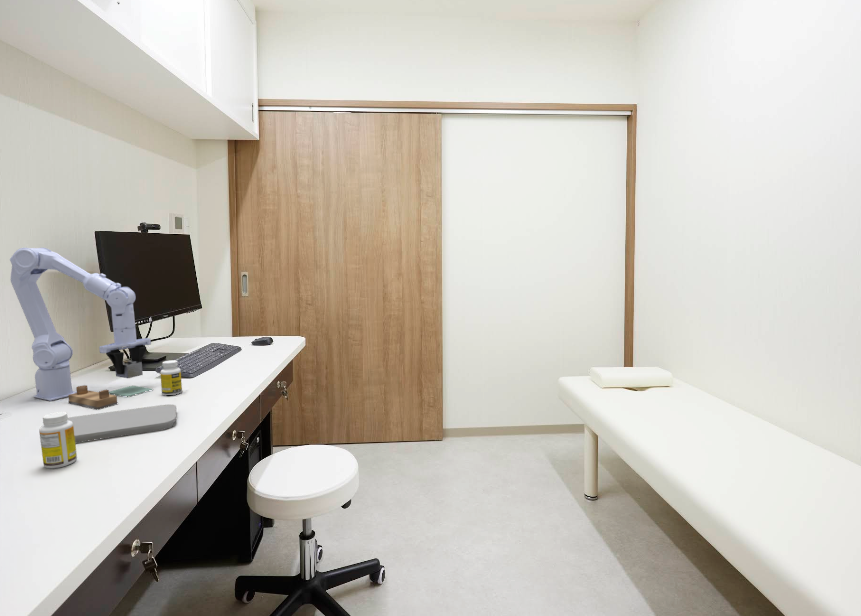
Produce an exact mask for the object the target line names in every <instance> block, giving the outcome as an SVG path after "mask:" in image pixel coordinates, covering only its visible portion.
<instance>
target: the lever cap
mask: <svg viewBox="0 0 861 616" xmlns="http://www.w3.org/2000/svg"><path fill="white" fill-rule="evenodd" d="M114 369H115V368H114ZM123 369H124V372H123V374H122V375H120V374H117V372H116V369H115V377H119V378H125V379H132V378H136V377H139V376H140V377H141V376H143V363H142V361H141V362H138V361H132V359H131V360H123Z"/></svg>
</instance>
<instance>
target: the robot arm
mask: <svg viewBox="0 0 861 616" xmlns="http://www.w3.org/2000/svg"><path fill="white" fill-rule="evenodd" d="M9 261H10V263H11V273H10V283H11V285H12V288H13V290H14V293H15V294H16V298H17V299H18V302H19V304H20V306H21V310H22V312H23V314H24V316H25V319H26V321H27V324H28V326H29V327H30V331H31V333H32V335H33V338H34V340H33V342H32V344H31V349H32V352H33V353H32V354H33V355H32V360H33V361H32V362H33V363H34V365H35V366H36V367H38V369H37V371H36V372H35V373H34V380H35V381H34V382H35V383H34V384H35V388H36V389H35V390H36V391H35V392H36V394H34V395H33V398H36V399H40V400H46V401H54V400H55V401H56V400H59V399H62V398H67V397H68V398H69V396H68V395H70V394H74V393H77V391H75V390H73V385H72V377H71V367H70V360H71V359H72V357H73V354H74V351H73V347H71V345H70V344H69V343H68V342H67V341H66V340H65V338H64V336H63V335H62V334H60V333H59V332H57V330H56V327H55V325H54V323H53V320H52V318H51V316H50V313H49V311H48V308H47V306H46V303H45V301H44V298H43V296H42V294H41V292H40V289H39V286H38V284H37V281H38V280H39V279H40V277H41V276H42V274H43V273H45V272H46V271H49V270H55V271H57V272H60V273H62V274H64V275H66V276H68V277H70V278H72V279H74V280H76V281H78V282H80V283H82V285H83V287H84V290H86V291H88V292H90V293H91V294H94V295H95V296H97V297H99V298H101V299H102V300H104V301H106V303H107V304H108V306H110V309H111V321H112V328H113V329H112V330H113V339H114V342H112V343H108V344H105V345H100V346H99V347H98V349H99V353H100V354H105V355H106V357H108V359H109V360H110V361H111V363H112V365H113V366H114V369H116V371H115V373H116V372H117V374H120V375H122V374H123V372H124V369H123V362H124V357H125V352H123V351H121V350H126V349H128V350H129V353H130V356H131V361H138V362H142V360H143V357H144V355H145V353H146V351H147V346H149V345H152V343H151V338H148V337H146V338H145V337H144V338H138V339H137V329H136V322H135V321H136V320H135V318H136V317H135V311H134V303H135V301H136V293H135V291H134V290H132V289H131V288H130V287H129V286H122V284H121V283H119V282H115V281H112V280H111V279H109V278H107V275H106V274H104V273H103V272H102V273H98V272H94V273H90V272H88V271H86V270H85V269H83V268H82V267H80V266H79V265H77V264H75V263H73V262H72V261H70V260H68V259H67V258H66V257H64V256H62V255H60V254H59V253H58V252H56V251H52V250H51V249H49V248H48V247H20V248H18V249H16V250H15V251H14V253H13V254H12V255H11V257H10V258H9Z"/></svg>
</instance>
